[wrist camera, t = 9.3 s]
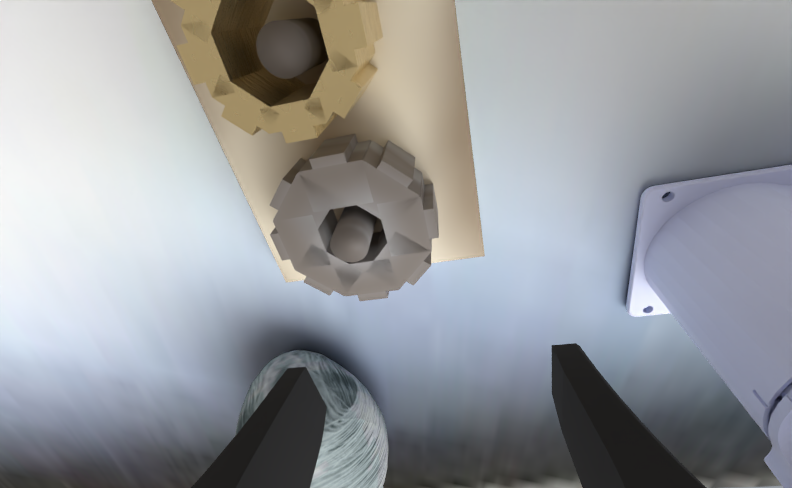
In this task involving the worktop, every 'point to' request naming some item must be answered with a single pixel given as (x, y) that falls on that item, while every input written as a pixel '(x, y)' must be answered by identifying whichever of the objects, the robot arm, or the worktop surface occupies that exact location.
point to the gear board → (379, 113)
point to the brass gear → (262, 91)
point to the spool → (333, 421)
